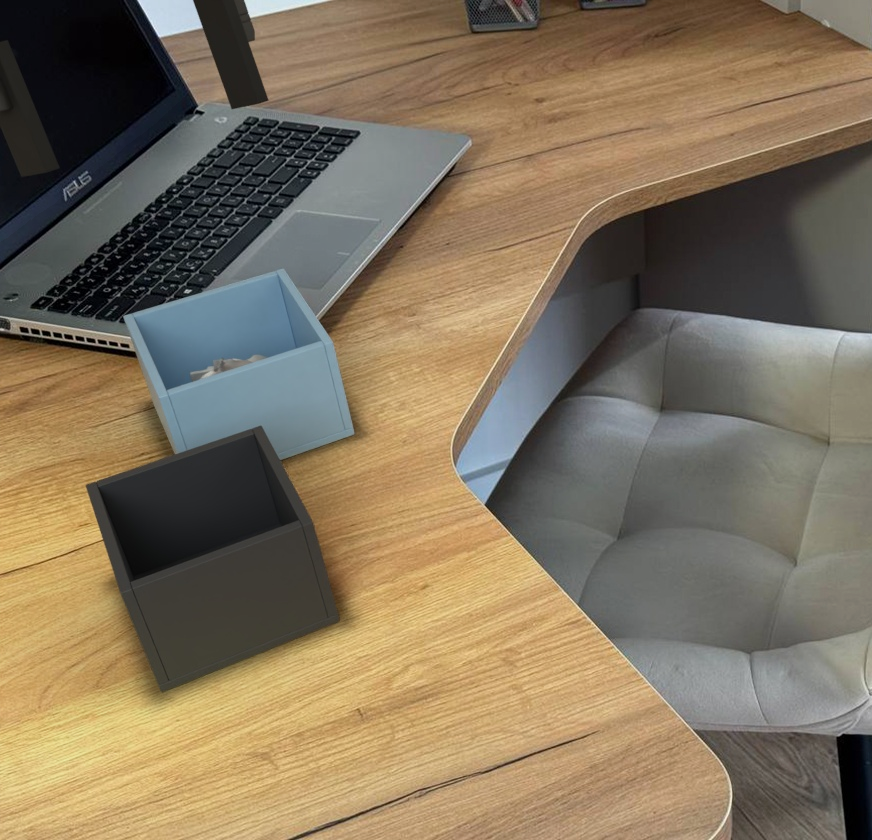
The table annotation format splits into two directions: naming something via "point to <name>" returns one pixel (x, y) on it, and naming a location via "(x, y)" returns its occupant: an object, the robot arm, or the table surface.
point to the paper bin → (243, 367)
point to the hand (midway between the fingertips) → (152, 137)
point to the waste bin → (213, 556)
